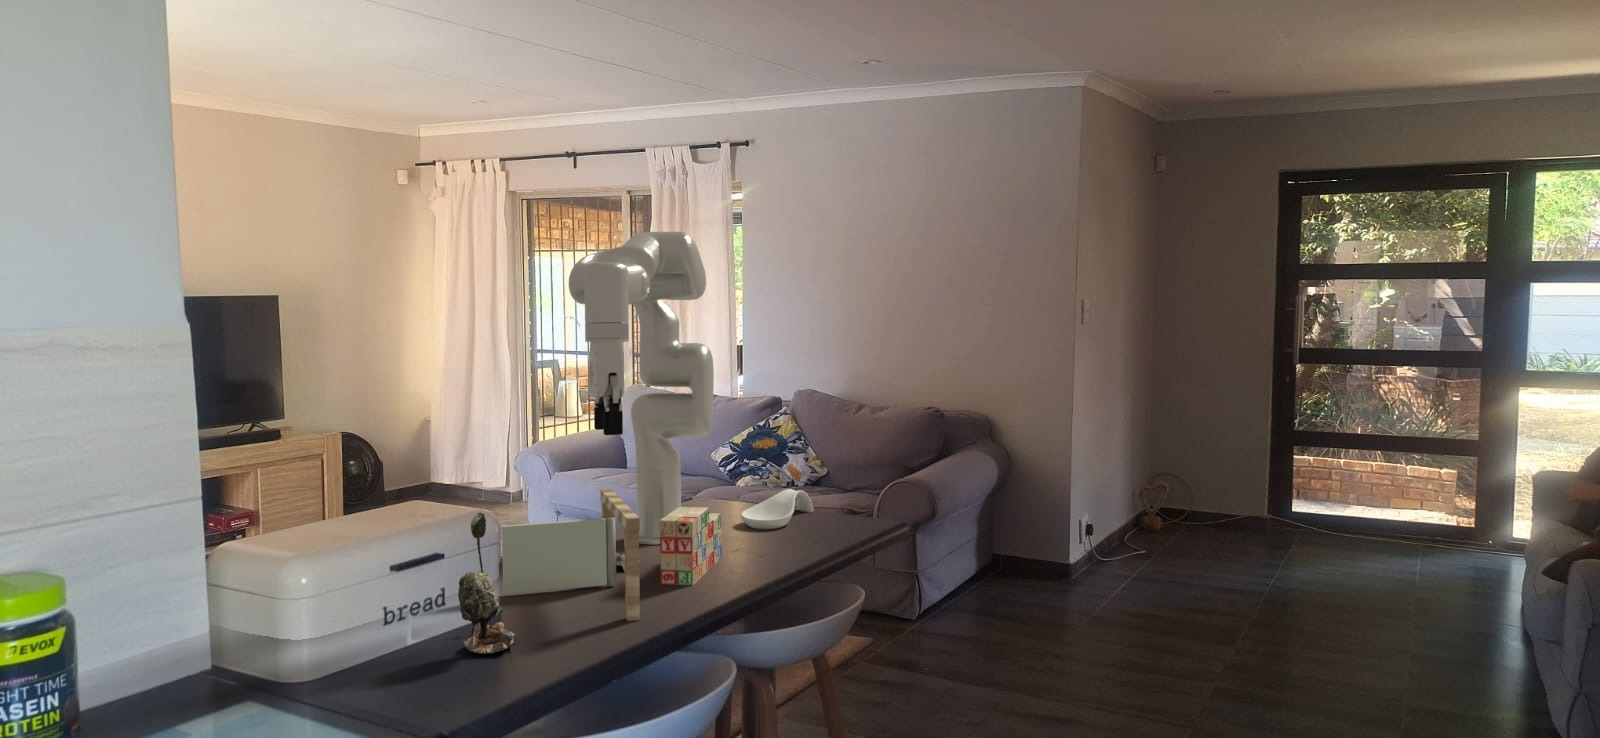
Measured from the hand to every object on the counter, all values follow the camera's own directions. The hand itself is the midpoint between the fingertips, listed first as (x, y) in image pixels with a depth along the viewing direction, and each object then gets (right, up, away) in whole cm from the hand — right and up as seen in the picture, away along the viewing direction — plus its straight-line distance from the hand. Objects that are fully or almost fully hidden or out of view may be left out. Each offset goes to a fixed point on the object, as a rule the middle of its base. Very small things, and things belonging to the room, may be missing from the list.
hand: (608, 431), depth 190 cm
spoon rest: (+29, -25, +61) cm, 72 cm away
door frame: (+2, -29, -2) cm, 29 cm away
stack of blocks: (+13, -28, +18) cm, 36 cm away
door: (-9, -28, +4) cm, 30 cm away
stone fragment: (-11, -27, +19) cm, 35 cm away
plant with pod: (-14, -31, -27) cm, 43 cm away
